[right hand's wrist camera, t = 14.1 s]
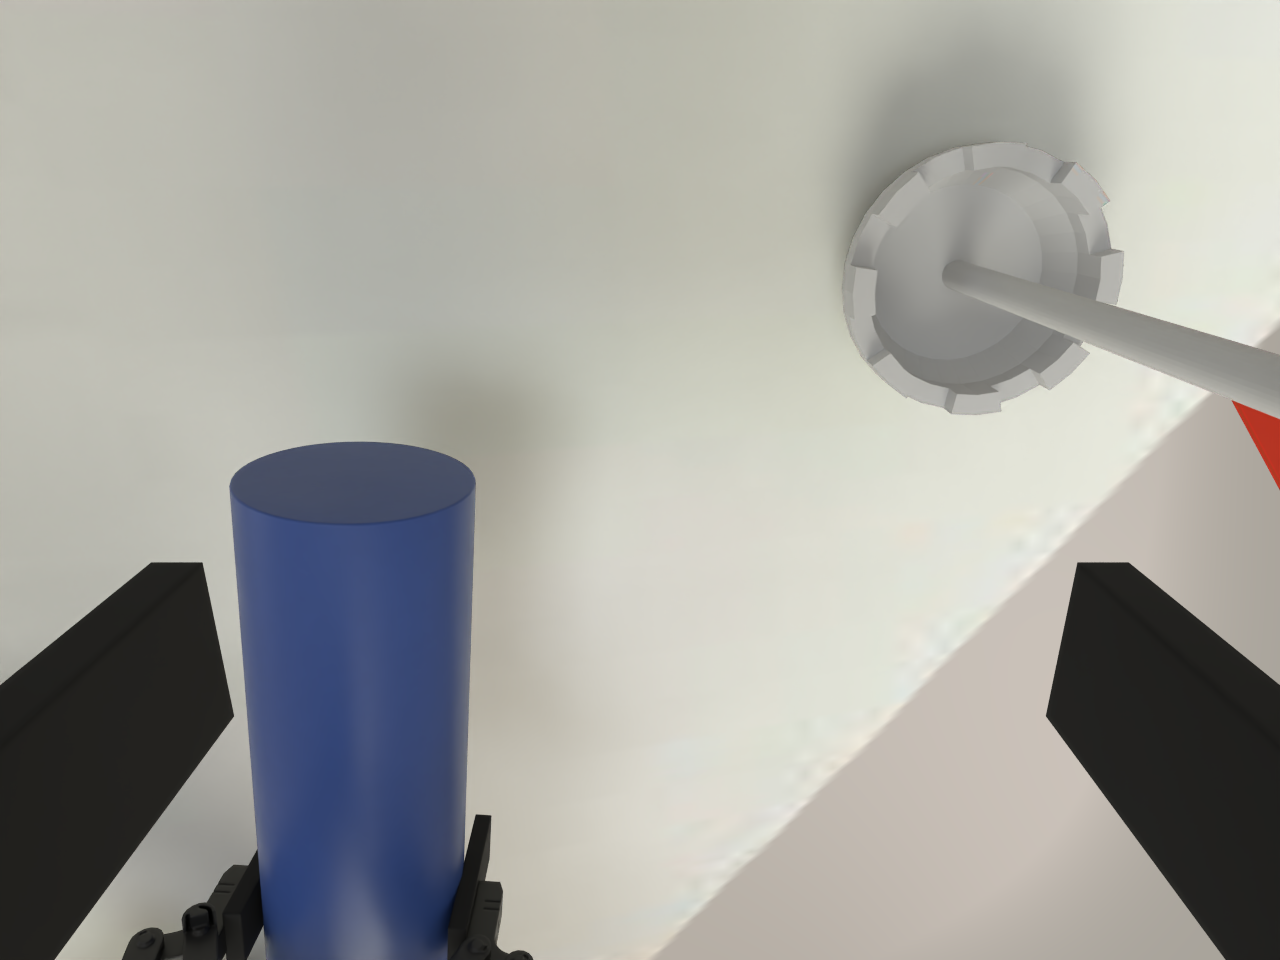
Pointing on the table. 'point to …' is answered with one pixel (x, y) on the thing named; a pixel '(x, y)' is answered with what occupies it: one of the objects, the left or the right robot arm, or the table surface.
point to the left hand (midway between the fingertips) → (388, 830)
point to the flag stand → (1018, 291)
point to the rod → (356, 693)
